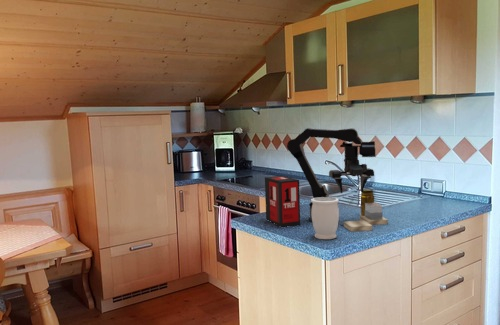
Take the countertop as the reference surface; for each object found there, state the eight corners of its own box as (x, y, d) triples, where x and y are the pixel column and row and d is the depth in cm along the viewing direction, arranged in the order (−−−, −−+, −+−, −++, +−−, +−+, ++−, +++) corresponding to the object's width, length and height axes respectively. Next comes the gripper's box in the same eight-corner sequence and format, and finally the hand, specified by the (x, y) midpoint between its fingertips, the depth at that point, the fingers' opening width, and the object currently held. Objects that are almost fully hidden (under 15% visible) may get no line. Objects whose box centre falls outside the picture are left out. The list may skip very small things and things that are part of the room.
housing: (370, 220, 189) (370, 206, 188) (364, 216, 196) (364, 203, 195) (382, 219, 189) (382, 205, 189) (376, 215, 196) (375, 202, 196)
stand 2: (367, 225, 188) (367, 220, 188) (359, 220, 197) (359, 216, 197) (387, 224, 189) (387, 219, 189) (379, 219, 198) (379, 214, 197)
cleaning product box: (300, 225, 192) (299, 179, 190) (281, 227, 189) (280, 181, 187) (283, 217, 207) (282, 175, 205) (266, 220, 204) (264, 177, 202)
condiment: (358, 214, 210) (357, 189, 208) (375, 213, 210) (375, 188, 209) (363, 217, 202) (363, 191, 201) (381, 216, 203) (381, 190, 202)
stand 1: (350, 231, 179) (350, 226, 179) (343, 226, 188) (343, 221, 188) (372, 230, 180) (372, 225, 180) (364, 224, 189) (364, 220, 189)
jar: (309, 239, 170) (308, 201, 168) (315, 232, 179) (314, 196, 178) (336, 241, 166) (336, 202, 164) (341, 234, 176) (340, 197, 174)
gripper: (336, 160, 183) (336, 197, 185) (379, 157, 185) (379, 194, 187) (328, 157, 194) (328, 192, 196) (369, 155, 196) (369, 190, 198)
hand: (351, 192), depth 194 cm, fingers open, 9 cm apart
